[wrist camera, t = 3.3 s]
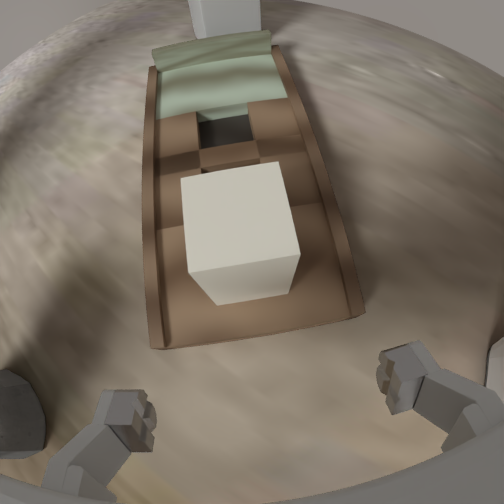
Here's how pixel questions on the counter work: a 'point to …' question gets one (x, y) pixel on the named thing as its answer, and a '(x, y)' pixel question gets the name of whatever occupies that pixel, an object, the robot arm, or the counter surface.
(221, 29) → the milk carton
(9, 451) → the coffeepot
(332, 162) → the counter surface
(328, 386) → the counter surface
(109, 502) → the robot arm
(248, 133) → the box
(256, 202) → the cream block
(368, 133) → the counter surface
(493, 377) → the tub
